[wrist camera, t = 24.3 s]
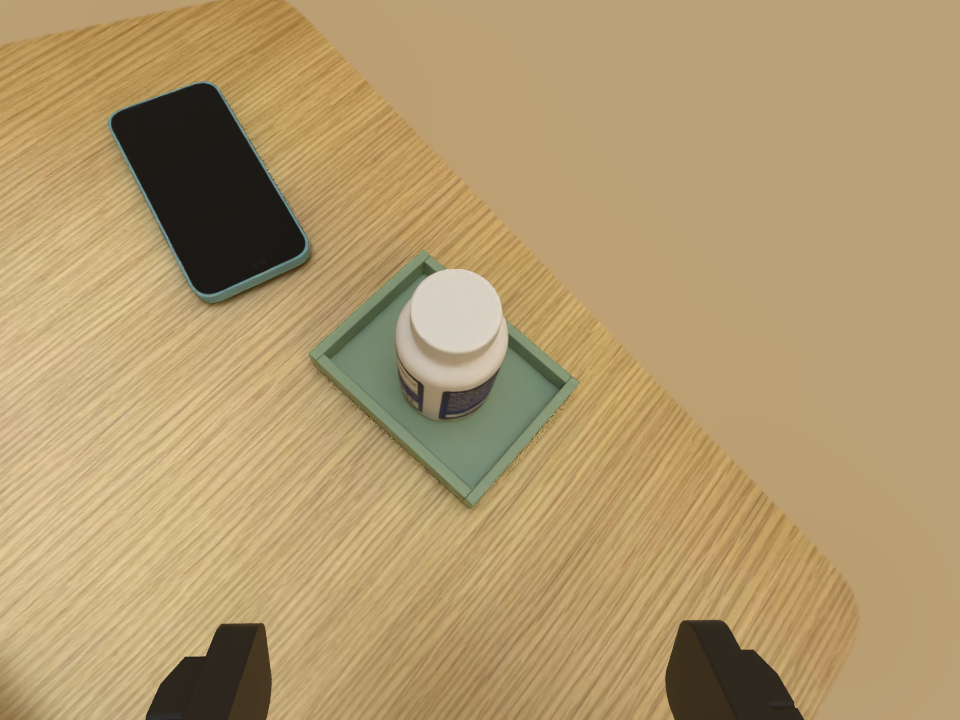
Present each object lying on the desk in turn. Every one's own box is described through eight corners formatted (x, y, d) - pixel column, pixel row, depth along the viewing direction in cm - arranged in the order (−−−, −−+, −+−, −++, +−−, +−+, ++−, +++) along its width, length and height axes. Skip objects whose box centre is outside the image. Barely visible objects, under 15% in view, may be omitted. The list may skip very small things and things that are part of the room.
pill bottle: (502, 350, 35) (534, 275, 26) (476, 435, 33) (501, 386, 24) (416, 323, 35) (417, 237, 26) (385, 406, 33) (374, 346, 24)
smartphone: (212, 76, 38) (315, 250, 35) (217, 89, 39) (318, 259, 36) (101, 115, 37) (198, 304, 33) (110, 127, 38) (205, 312, 34)
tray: (571, 392, 35) (580, 382, 33) (470, 509, 32) (473, 506, 30) (422, 264, 37) (423, 248, 35) (313, 365, 34) (307, 353, 32)
